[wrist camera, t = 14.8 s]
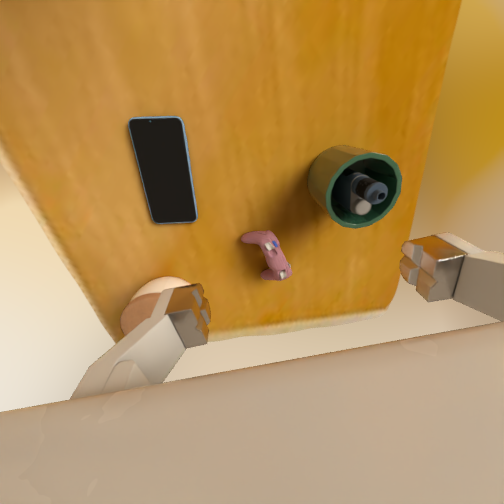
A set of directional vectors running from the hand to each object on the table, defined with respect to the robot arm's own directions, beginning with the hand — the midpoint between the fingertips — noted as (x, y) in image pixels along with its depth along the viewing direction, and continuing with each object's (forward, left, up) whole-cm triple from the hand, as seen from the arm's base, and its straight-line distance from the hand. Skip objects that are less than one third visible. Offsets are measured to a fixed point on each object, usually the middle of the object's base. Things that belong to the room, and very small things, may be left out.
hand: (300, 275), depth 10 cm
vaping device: (+5, +12, -28) cm, 31 cm away
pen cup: (+5, +12, -29) cm, 32 cm away
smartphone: (-1, -13, -29) cm, 32 cm away
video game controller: (+15, -1, -29) cm, 33 cm away
